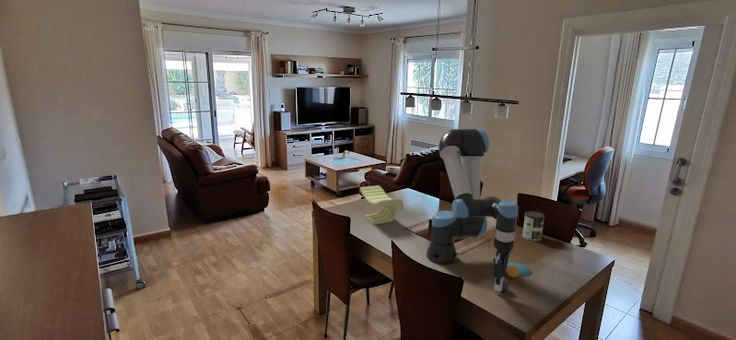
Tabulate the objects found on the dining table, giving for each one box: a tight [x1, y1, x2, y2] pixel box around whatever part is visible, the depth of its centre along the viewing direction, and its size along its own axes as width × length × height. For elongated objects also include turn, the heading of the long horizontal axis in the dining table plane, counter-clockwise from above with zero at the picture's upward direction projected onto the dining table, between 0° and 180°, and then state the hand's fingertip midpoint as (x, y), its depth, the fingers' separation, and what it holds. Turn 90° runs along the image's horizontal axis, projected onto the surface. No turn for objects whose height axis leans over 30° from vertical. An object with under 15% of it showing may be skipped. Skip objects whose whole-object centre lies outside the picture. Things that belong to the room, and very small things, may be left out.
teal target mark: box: [506, 262, 533, 277], centre depth 175 cm, size 12×12×1 cm
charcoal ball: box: [501, 277, 510, 292], centre depth 157 cm, size 6×6×6 cm
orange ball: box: [506, 265, 519, 278], centre depth 168 cm, size 6×6×6 cm
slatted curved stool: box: [359, 185, 404, 225], centre depth 232 cm, size 30×16×18 cm, turn 23°
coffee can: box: [522, 210, 546, 242], centre depth 210 cm, size 10×10×14 cm
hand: (497, 290), depth 155 cm, fingers closed
